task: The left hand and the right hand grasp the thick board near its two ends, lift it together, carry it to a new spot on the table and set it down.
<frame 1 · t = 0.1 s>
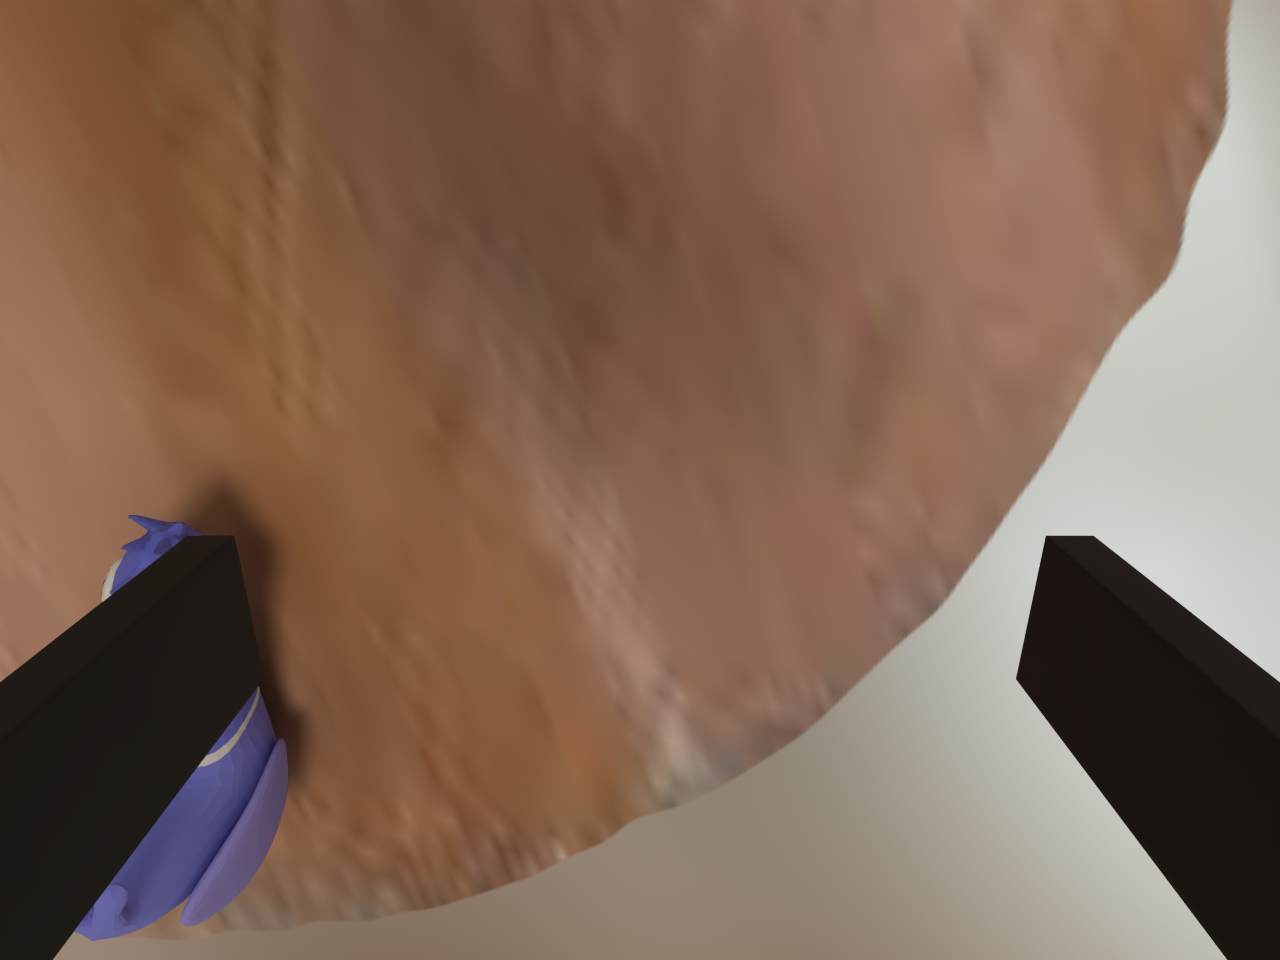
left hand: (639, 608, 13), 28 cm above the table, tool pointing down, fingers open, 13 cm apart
toy: (231, 656, 46), on the table
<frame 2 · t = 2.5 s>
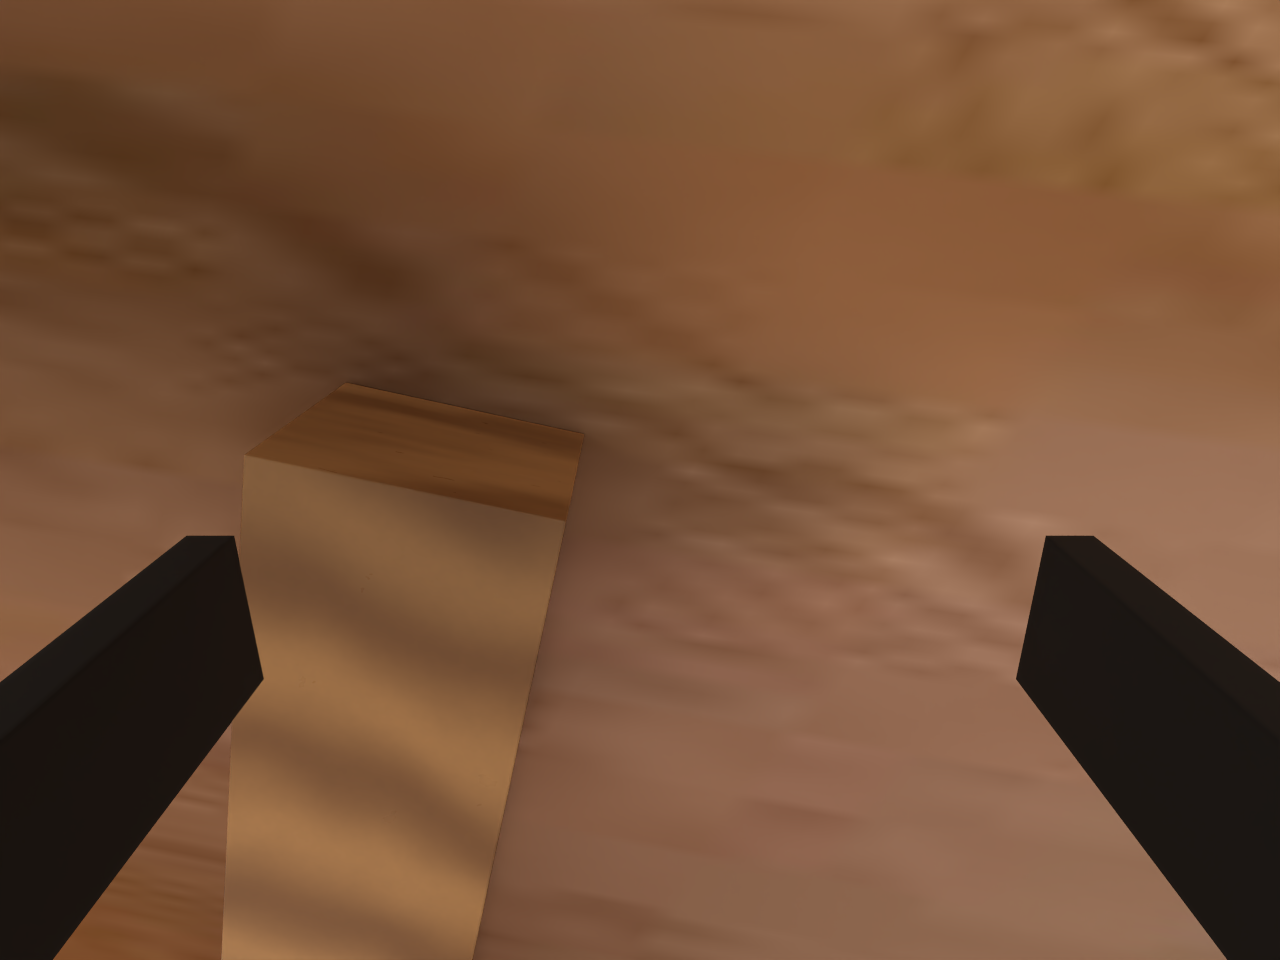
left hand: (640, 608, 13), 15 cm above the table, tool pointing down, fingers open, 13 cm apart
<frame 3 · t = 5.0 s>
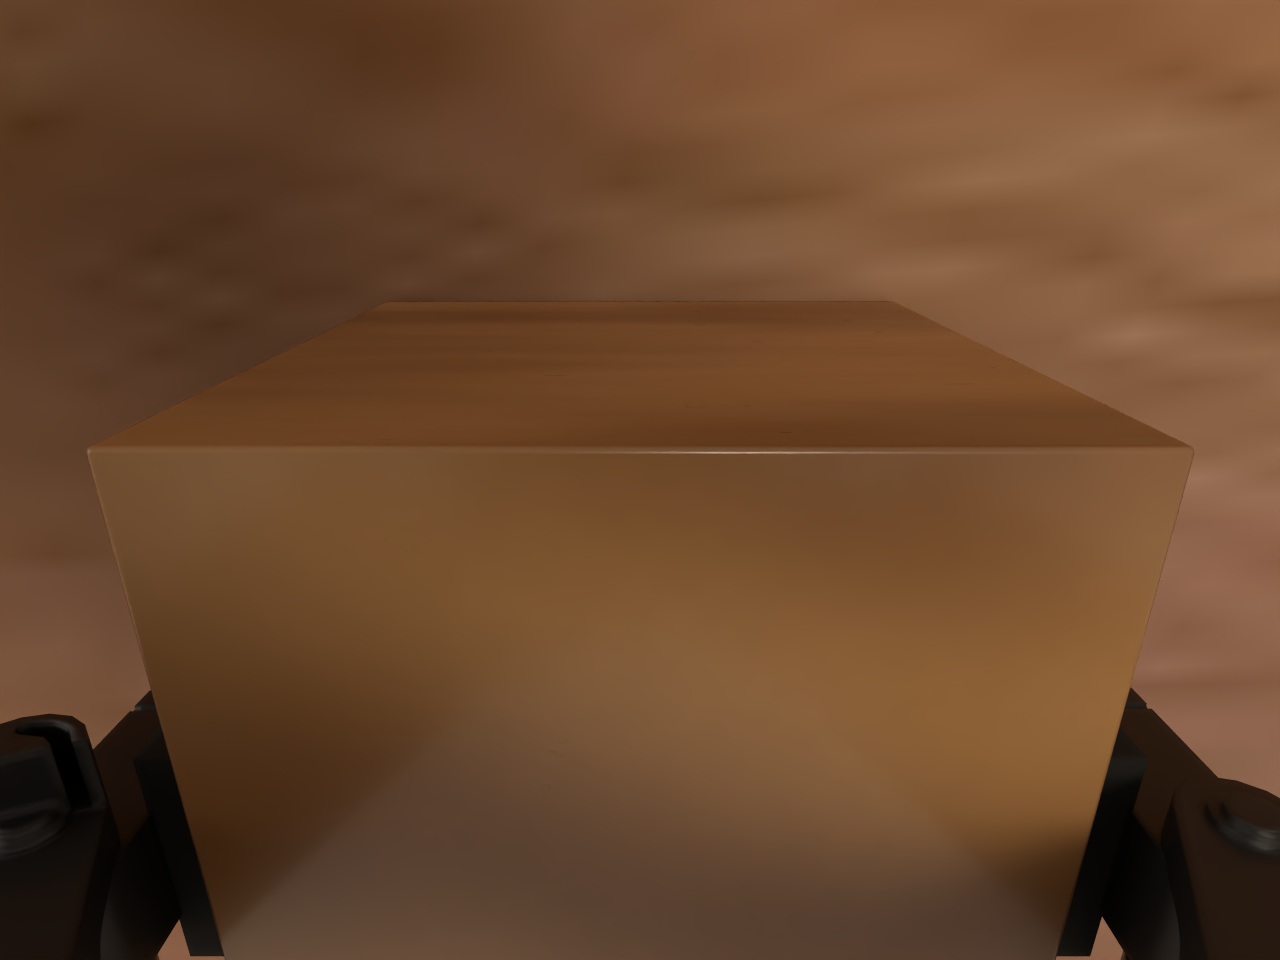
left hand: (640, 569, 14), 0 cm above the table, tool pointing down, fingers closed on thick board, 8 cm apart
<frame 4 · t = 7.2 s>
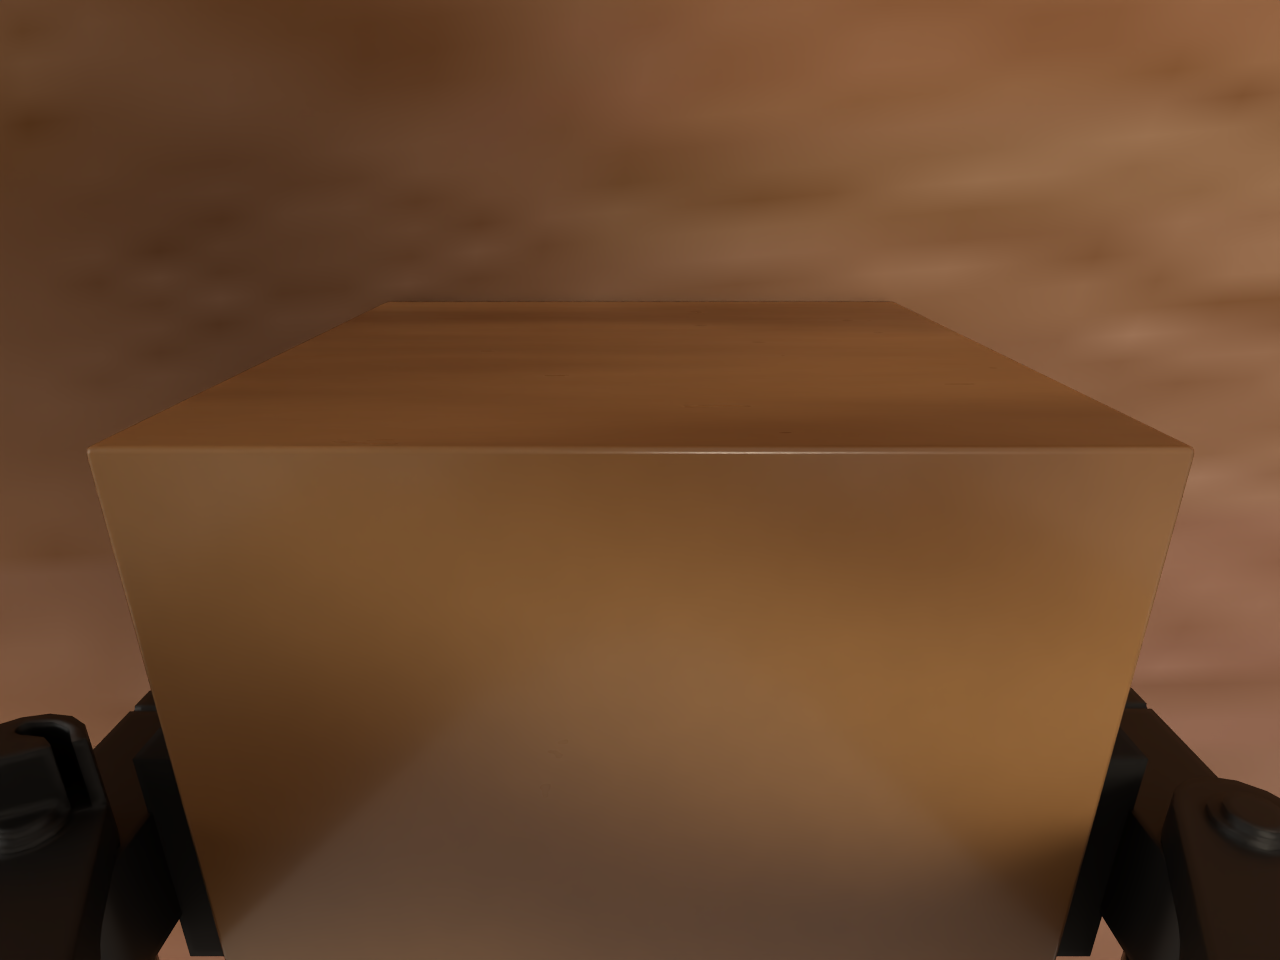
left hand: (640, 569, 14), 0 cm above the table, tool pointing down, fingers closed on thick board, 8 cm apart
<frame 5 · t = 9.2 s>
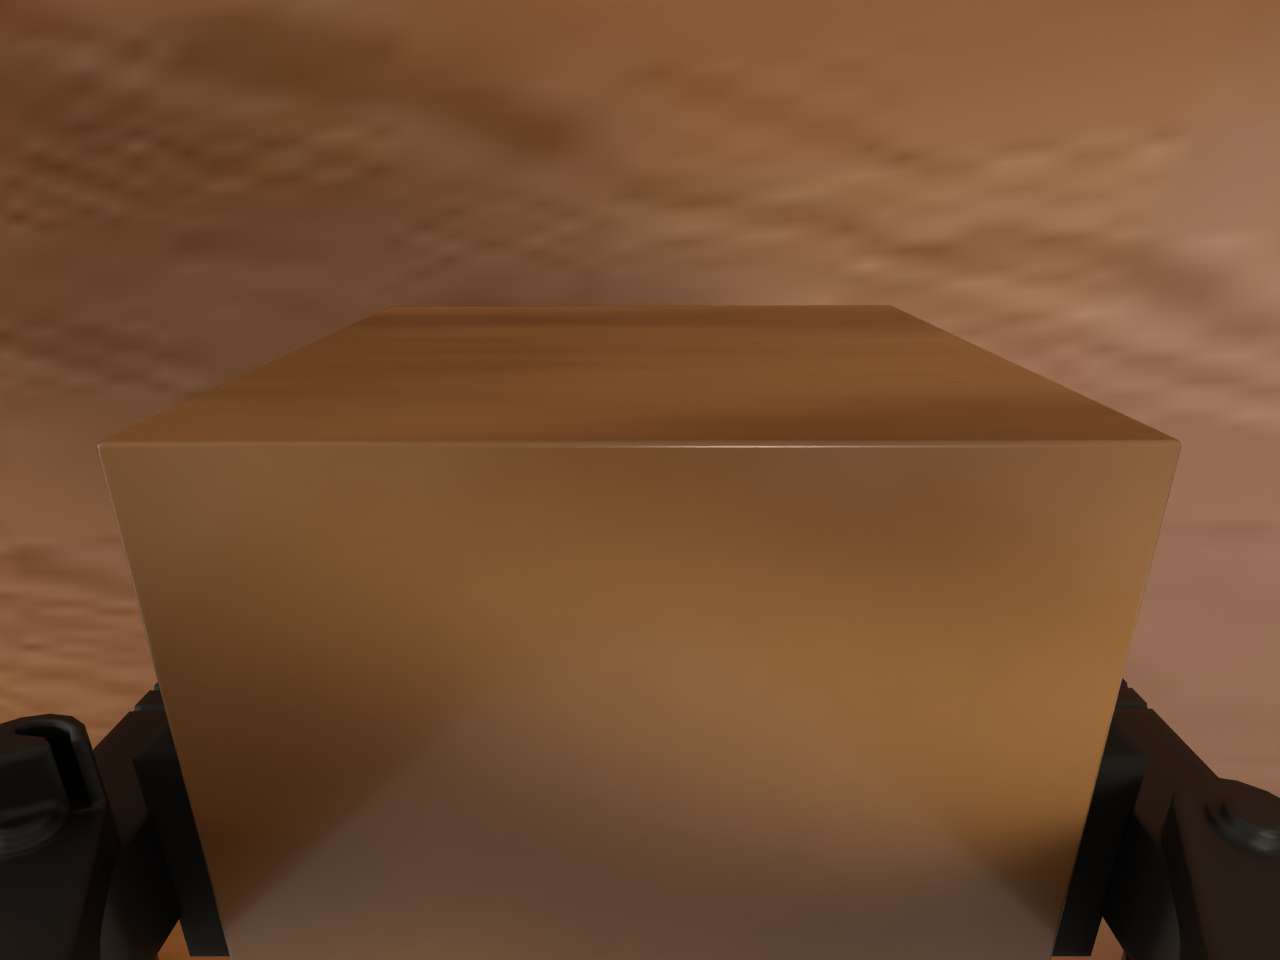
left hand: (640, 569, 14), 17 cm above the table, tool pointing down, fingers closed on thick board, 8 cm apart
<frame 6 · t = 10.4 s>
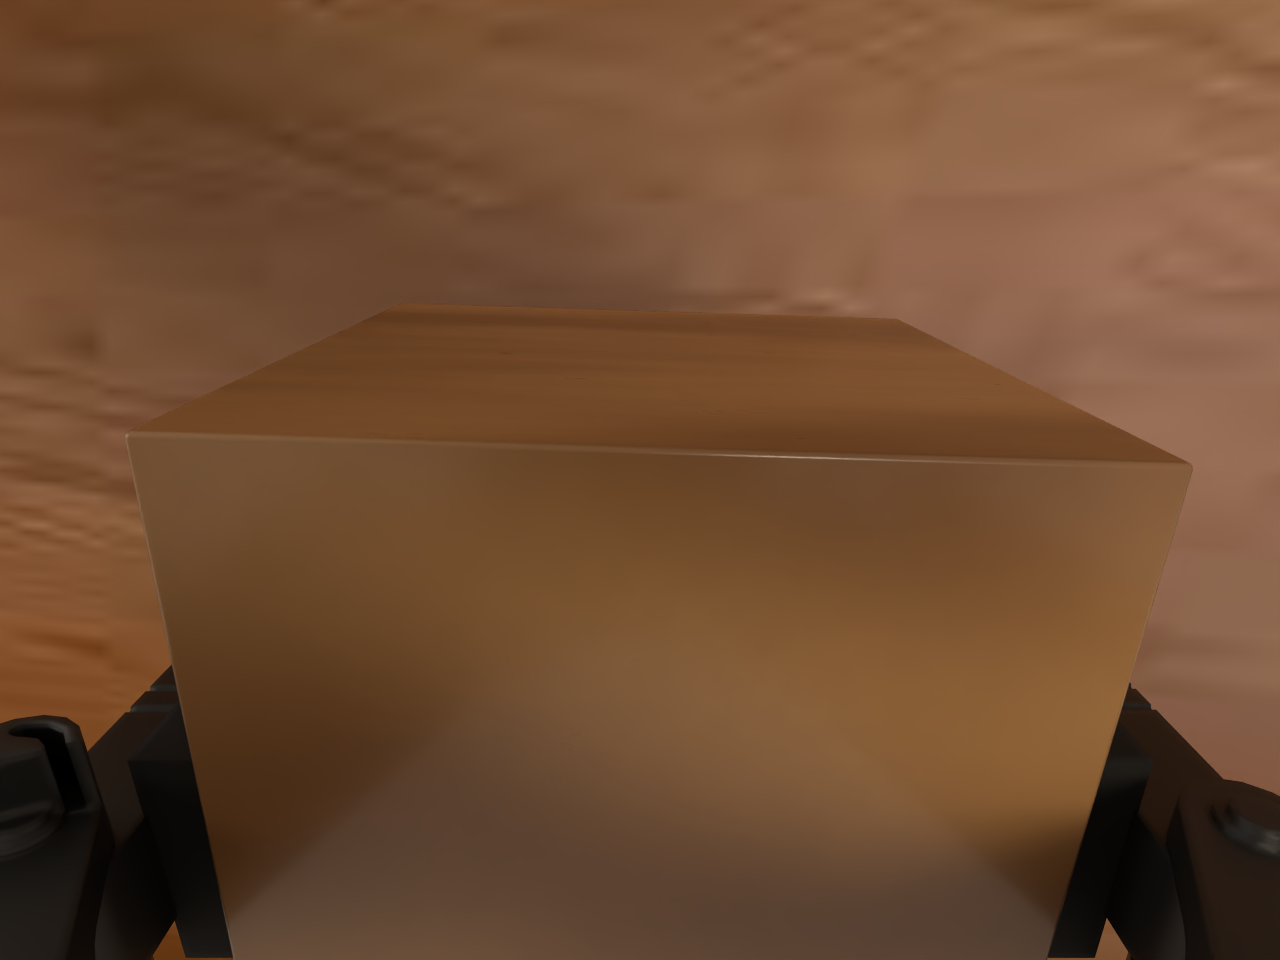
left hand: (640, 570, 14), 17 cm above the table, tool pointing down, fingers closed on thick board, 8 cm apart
when the left hand's fingers open (2 cm above the table, at t = 13.6 s): thick board stays where it is, on the table.
when the right hand's fingers open (2 cm above the table, at t = 13.6 s): thick board stays where it is, on the table.
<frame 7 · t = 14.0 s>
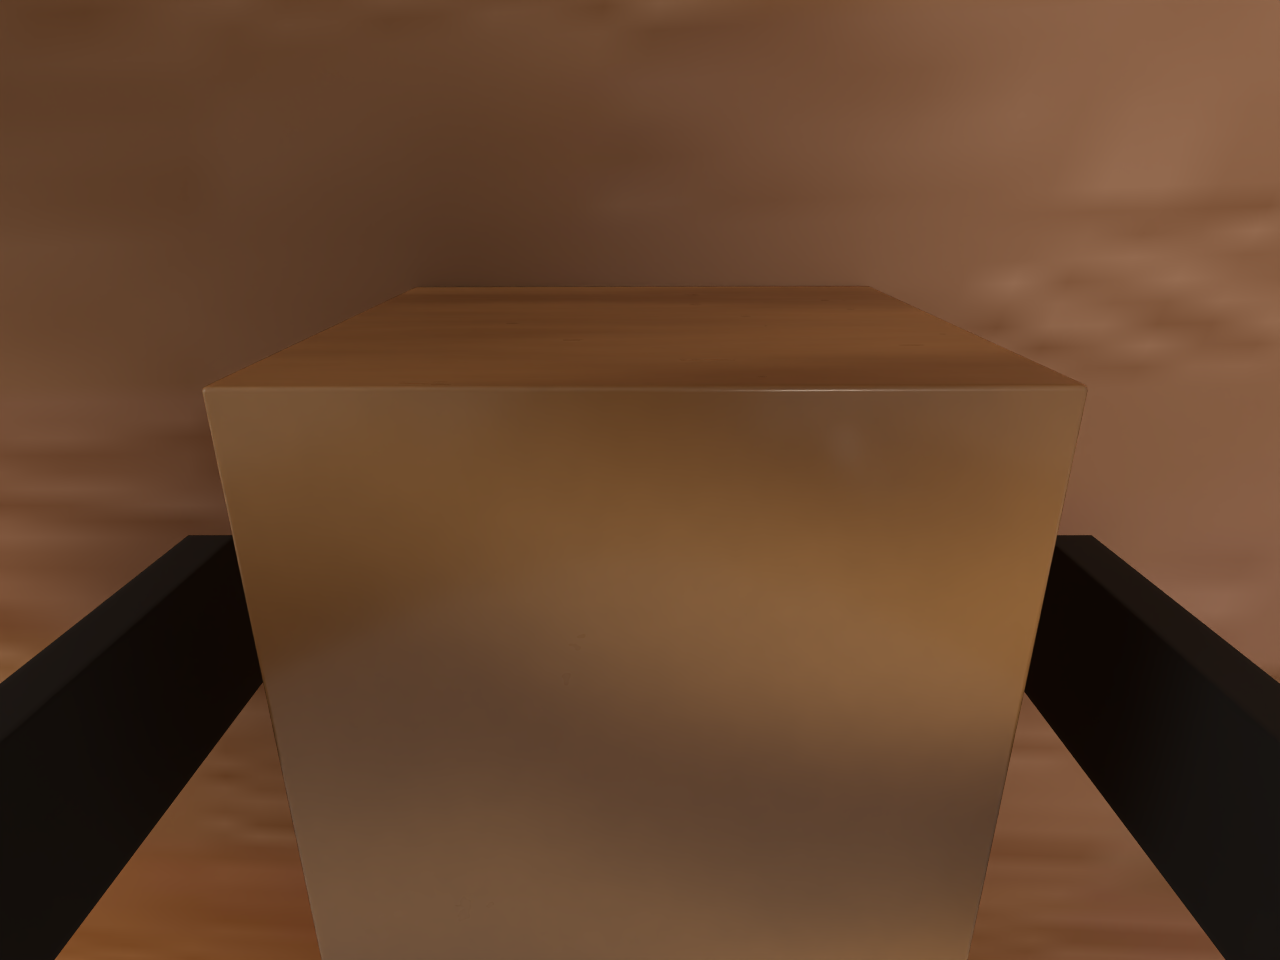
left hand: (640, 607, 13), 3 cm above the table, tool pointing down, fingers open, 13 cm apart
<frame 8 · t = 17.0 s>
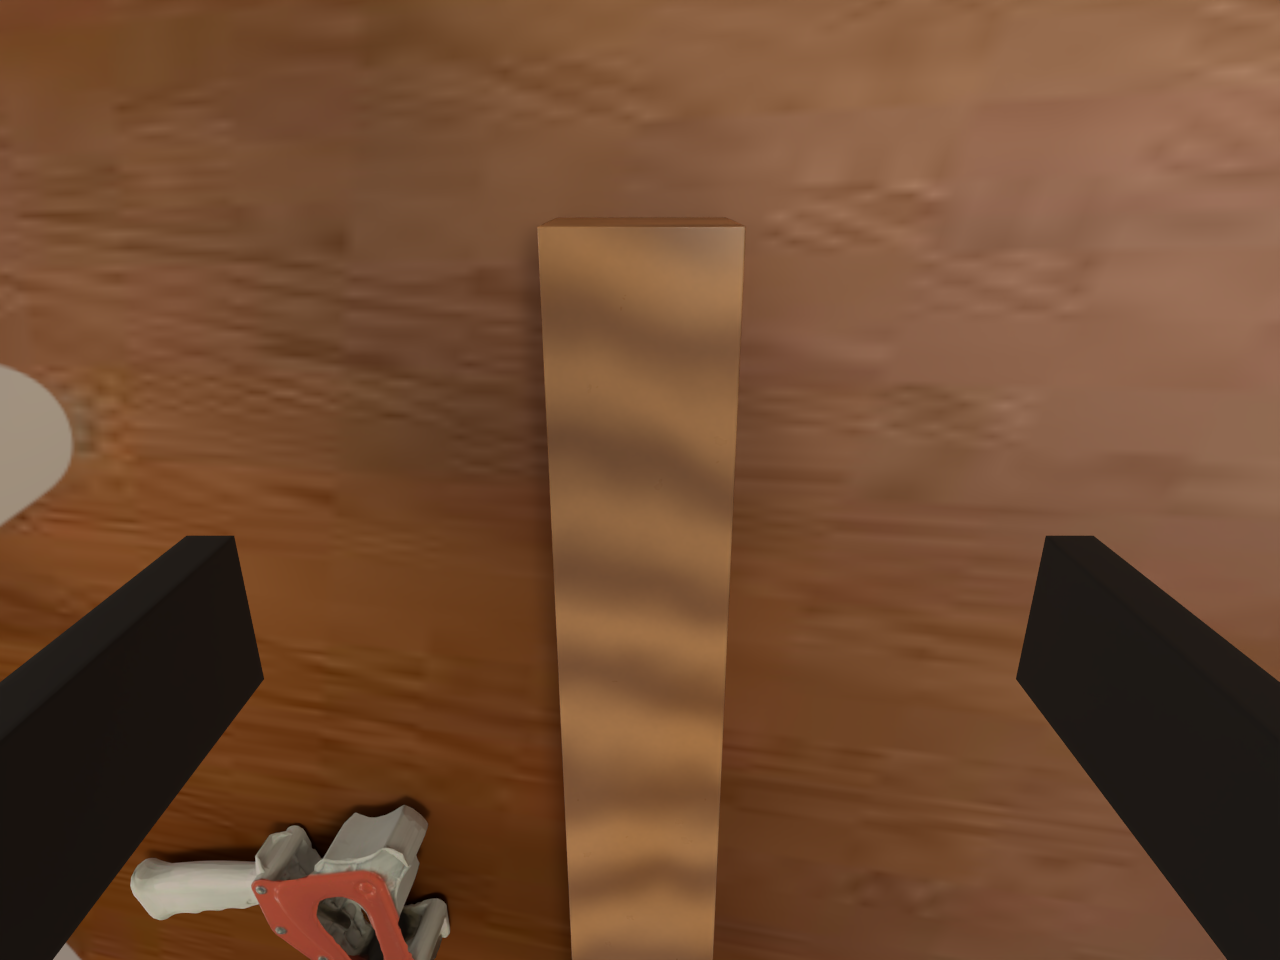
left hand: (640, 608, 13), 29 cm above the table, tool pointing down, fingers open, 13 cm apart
thick board: (642, 852, 53), on the table
tape dispenser: (329, 856, 53), on the table
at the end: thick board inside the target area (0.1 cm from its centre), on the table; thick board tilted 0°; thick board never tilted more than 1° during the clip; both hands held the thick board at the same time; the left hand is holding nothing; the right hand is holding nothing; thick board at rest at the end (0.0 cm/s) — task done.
